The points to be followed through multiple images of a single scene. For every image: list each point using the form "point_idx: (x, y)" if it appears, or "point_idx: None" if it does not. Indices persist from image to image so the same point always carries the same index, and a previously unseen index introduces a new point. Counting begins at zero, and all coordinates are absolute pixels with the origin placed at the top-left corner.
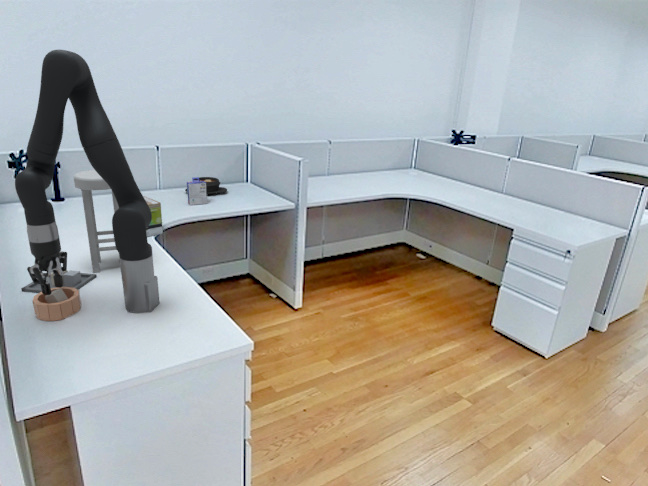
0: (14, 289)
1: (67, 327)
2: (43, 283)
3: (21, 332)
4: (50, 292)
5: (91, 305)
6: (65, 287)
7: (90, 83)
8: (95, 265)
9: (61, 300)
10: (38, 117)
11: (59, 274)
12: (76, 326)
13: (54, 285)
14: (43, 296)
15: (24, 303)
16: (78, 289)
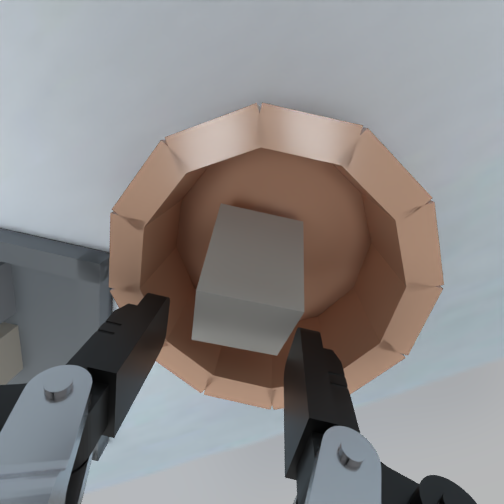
0: (91, 468)
1: (496, 100)
2: (436, 486)
3: (486, 322)
4: (311, 337)
5: (190, 65)
6: (121, 277)
7: None
8: None
9: (275, 239)
10: None
11: (89, 400)
12: (498, 37)
13: (20, 360)
14: (234, 362)
15: (198, 405)
16: (20, 235)
